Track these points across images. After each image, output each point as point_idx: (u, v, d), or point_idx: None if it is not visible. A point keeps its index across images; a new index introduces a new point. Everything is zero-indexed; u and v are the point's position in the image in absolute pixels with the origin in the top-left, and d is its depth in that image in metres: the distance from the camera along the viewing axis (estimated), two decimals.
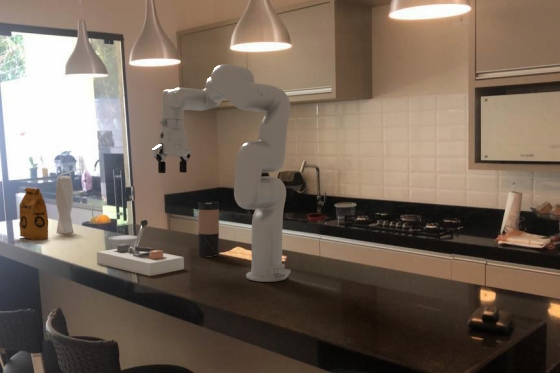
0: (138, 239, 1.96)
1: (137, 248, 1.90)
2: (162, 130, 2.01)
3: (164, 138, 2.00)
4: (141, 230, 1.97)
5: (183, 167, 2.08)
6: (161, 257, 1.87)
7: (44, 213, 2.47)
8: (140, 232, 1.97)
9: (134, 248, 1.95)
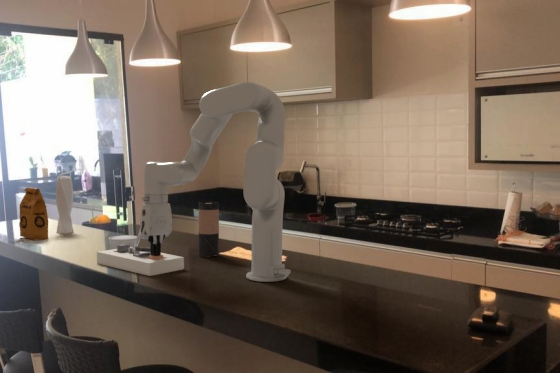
0: (138, 239, 1.96)
1: (137, 248, 1.90)
2: (144, 207, 1.84)
3: (146, 216, 1.82)
4: None
5: None
6: None
7: (44, 213, 2.47)
8: (140, 232, 1.97)
9: (134, 248, 1.95)
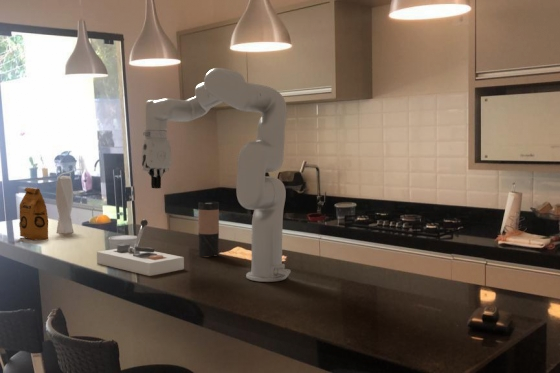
0: (138, 239, 1.96)
1: (137, 248, 1.90)
2: (145, 141, 1.97)
3: (147, 150, 1.96)
4: (141, 230, 1.97)
5: None
6: None
7: (44, 213, 2.47)
8: (140, 232, 1.97)
9: (134, 248, 1.95)
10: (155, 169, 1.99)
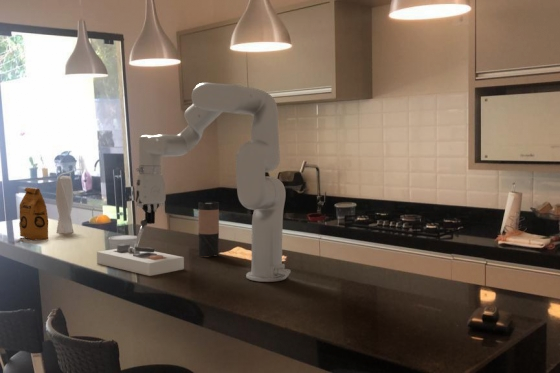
0: (138, 239, 1.96)
1: (137, 248, 1.90)
2: (138, 177, 1.96)
3: (140, 186, 1.95)
4: (141, 230, 1.97)
5: None
6: None
7: (44, 213, 2.47)
8: (140, 232, 1.97)
9: (134, 248, 1.95)
10: (149, 204, 1.98)
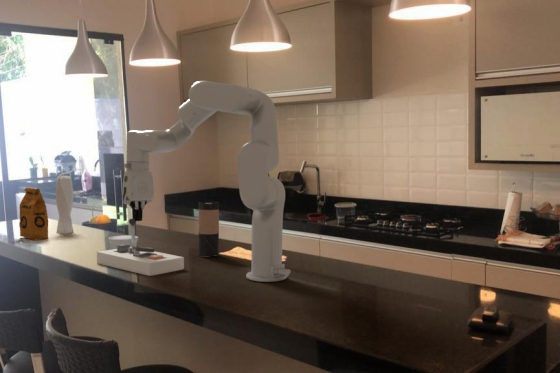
0: (133, 239, 1.95)
1: (137, 248, 1.90)
2: (126, 173, 1.92)
3: (128, 182, 1.91)
4: (132, 230, 1.94)
5: None
6: None
7: (44, 213, 2.47)
8: (132, 232, 1.94)
9: (133, 249, 1.95)
10: (136, 201, 1.94)
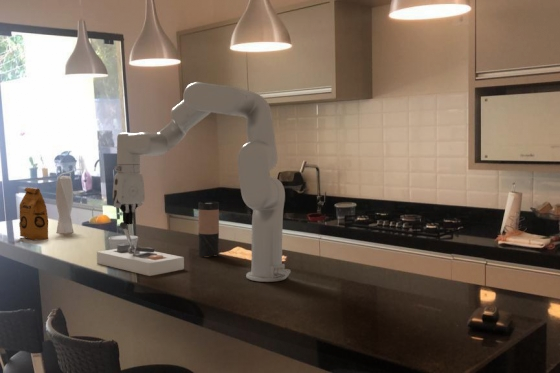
0: (130, 241, 1.94)
1: (137, 248, 1.90)
2: (116, 176, 1.89)
3: (118, 185, 1.88)
4: (126, 233, 1.92)
5: None
6: None
7: (44, 213, 2.47)
8: (127, 235, 1.93)
9: (133, 250, 1.95)
10: (127, 205, 1.91)
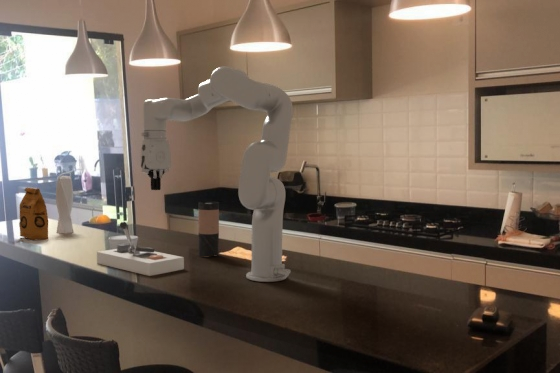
0: (130, 241, 1.94)
1: (137, 248, 1.90)
2: (144, 142, 1.92)
3: (146, 150, 1.91)
4: (126, 233, 1.92)
5: None
6: None
7: (44, 213, 2.47)
8: (127, 235, 1.93)
9: (133, 250, 1.95)
10: (154, 170, 1.94)
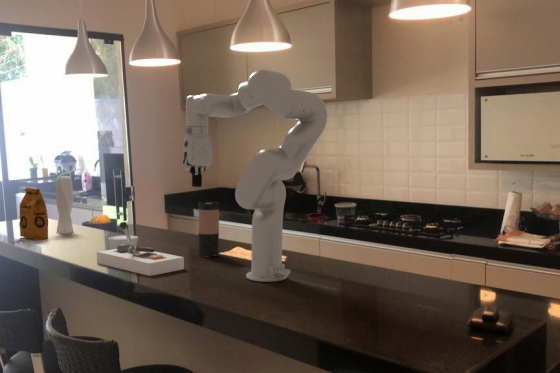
0: (130, 241, 1.94)
1: (137, 248, 1.90)
2: (186, 138, 1.90)
3: (188, 147, 1.89)
4: (126, 233, 1.92)
5: None
6: None
7: (44, 213, 2.47)
8: (127, 235, 1.93)
9: (133, 250, 1.95)
10: (196, 167, 1.92)
